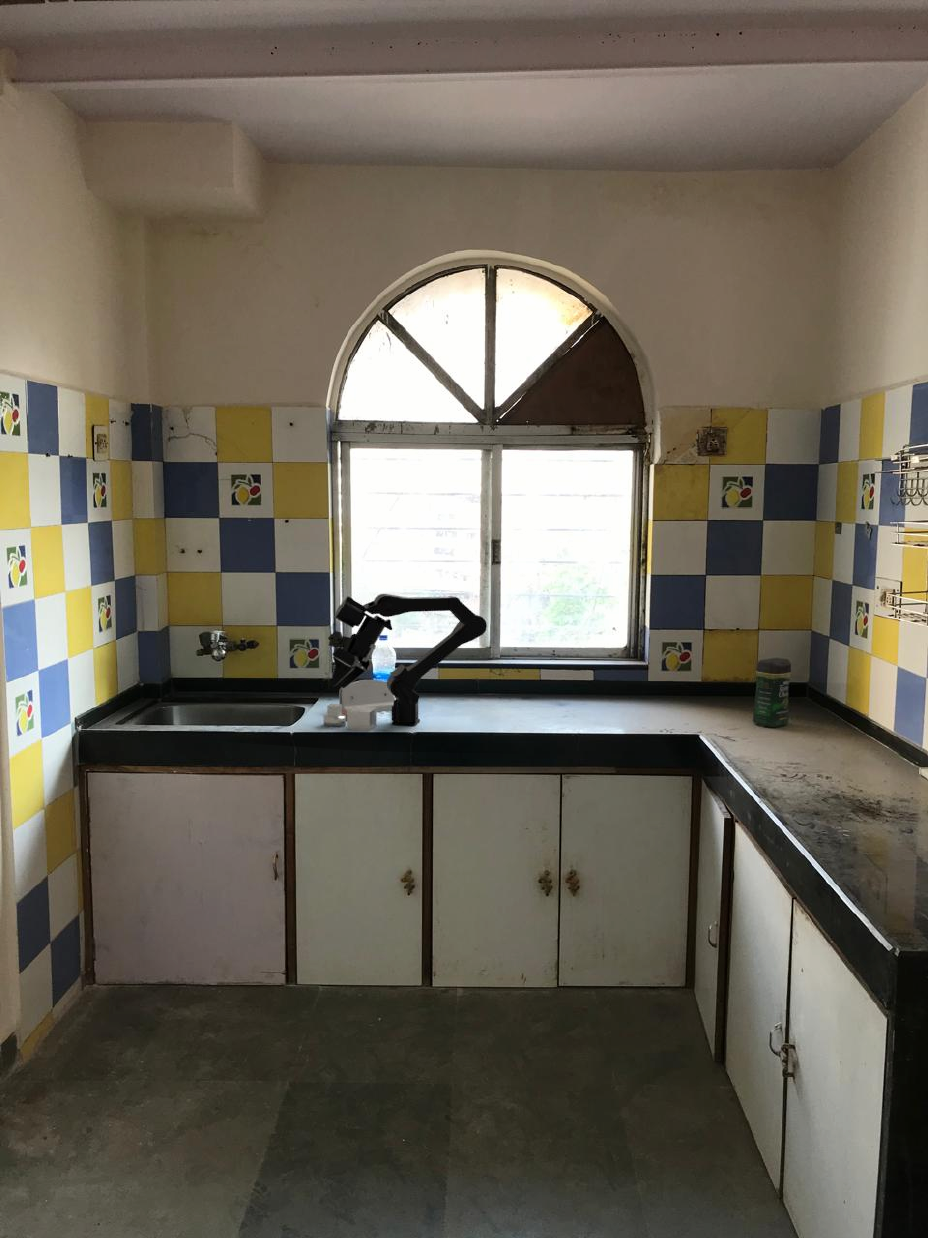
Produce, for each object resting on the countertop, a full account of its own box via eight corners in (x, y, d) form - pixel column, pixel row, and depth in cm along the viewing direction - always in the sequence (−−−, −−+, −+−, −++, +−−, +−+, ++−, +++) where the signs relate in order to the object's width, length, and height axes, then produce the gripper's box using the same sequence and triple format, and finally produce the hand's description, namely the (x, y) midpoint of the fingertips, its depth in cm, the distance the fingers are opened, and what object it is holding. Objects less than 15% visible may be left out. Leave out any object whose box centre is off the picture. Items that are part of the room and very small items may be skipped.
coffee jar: (773, 729, 262) (776, 662, 260) (748, 724, 268) (751, 658, 266) (793, 724, 268) (796, 658, 266) (768, 719, 274) (771, 654, 272)
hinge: (345, 715, 273) (340, 680, 275) (339, 718, 277) (334, 683, 279) (399, 710, 281) (394, 676, 283) (392, 712, 285) (387, 679, 287)
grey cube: (376, 725, 261) (376, 707, 261) (369, 730, 255) (369, 712, 255) (354, 724, 263) (354, 706, 262) (347, 729, 257) (347, 711, 256)
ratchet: (355, 718, 270) (355, 699, 269) (341, 728, 258) (341, 708, 257) (335, 717, 271) (335, 698, 270) (320, 727, 259) (320, 706, 259)
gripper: (351, 625, 270) (323, 673, 270) (331, 617, 252) (301, 669, 252) (385, 645, 268) (356, 693, 268) (367, 638, 250) (336, 691, 249)
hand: (337, 686), depth 259 cm, fingers open, 9 cm apart
